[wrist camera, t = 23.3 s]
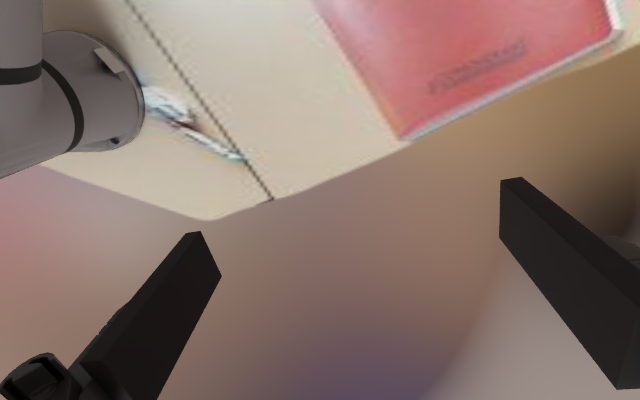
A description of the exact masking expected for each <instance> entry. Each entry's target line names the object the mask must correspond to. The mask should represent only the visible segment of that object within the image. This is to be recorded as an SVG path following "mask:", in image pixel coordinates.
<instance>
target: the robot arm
mask: <svg viewBox="0 0 640 400" xmlns="http://www.w3.org/2000/svg"><path fill="white" fill-rule="evenodd" d="M42 30H43V0H0V179H2V178H4V177H7V176H9V175H11V174H14V173H16V172H19V171H21V170H24V169H26V168H29V167H31V166H34V165H36V164H39V163H41V162H44V161H46V160H49V159H51V158H54V157H56V156H58V155H61V154H64V153H66V152H103V151H108V150H113V149H116V148H119V147H121V146H123V145H125V144H127V143H129V142H130V141H132V140H133V139H134V138H135V136H136V135H137V134H138V132H139V131H140V129H141V126H142V123H143V119H144V101H143V96H142V92H141V89H140V86H139V83H138V81H137V79H136V77H135V75H134V74H133V72H132V70H131V69H130V67H129V66H128V65H127V63H126V62H125V61H124V60H123V58H122V57H121V56H120V55H119V54H118V53H117V52H116V51H115V50H113V49H112V48H111V47H110V46H108V45H107V44H106V43H104V42H103V41H101V40H99V39H97V38H95V37H93V36H91V35H88V34H85V33H81V32H75V31H54V32H49V33H44V34H42ZM499 238H500V239H501V240H502V242H503V243H504V244H505V246H506V247H507V248H508V249H509V251H510V252H511V253H512V255H513V256H514V257H515V259H516V260H517V261H518V262H519V264H520V265H521V266H522V268H523V269H524V270H525V272H526V273H527V274H528V275H529V277H530V278H531V279H532V281H533V282H534V283H535V285H536V286H537V287H538V288H539V290H540V291H541V292H542V294H543V295H544V296H545V298H546V299H547V300H548V301H549V303H550V304H551V305H552V307H553V308H554V309H555V310H556V312H557V313H558V314H559V316H560V317H561V318H562V320H563V321H564V322H565V323H566V325H567V326H568V327H569V329H570V330H571V331H572V332H573V334H574V335H575V336H576V338H577V339H578V340H579V342H580V343H581V344H582V345H583V347H584V348H585V349H586V351H587V352H588V353H589V354H590V356H591V357H592V358H593V360H594V361H595V362H596V364H597V365H598V366H599V367H600V369H601V370H602V371H603V373H604V374H605V375H606V376H607V378H608V379H609V380H610V382H611V383H612V384H613V386H614V387H615V388H616V389H617V390H622V389H639V388H640V247H638V246H637V245H635V244H632V243H630V242H628V241H625V240H623V239H621V238H618V237H616V236H607V237H598V236H596V235H595V234H594V233H593V232H591V231H590V230H589V229H587V228H586V227H585V226H584V225H582V224H581V223H580V222H578V221H577V220H576V219H575V218H573V217H572V216H571V215H569V214H568V213H567V212H566V211H564V210H563V209H562V208H561V207H559V206H558V205H557V204H556V203H554V202H553V201H552V200H550V199H549V198H548V197H547V196H545V195H544V194H543V193H542V192H540V191H539V190H537V189H536V188H535V187H534V186H532V185H531V184H530V183H529V182H527V181H526V180H525V179H524V178H522V177H518V178H511V179H505V180H501V183H500V225H499ZM221 277H222V276H221V273H220V271H219V269H218V267H217V265H216V263H215V261H214V259H213V256H212V254H211V252H210V250H209V248H208V246H207V244H206V242H205V240H204V237H203V235H202V233H201V231H197V232H191V233H186V234H185V235H184V236H183V237H182V238H181V240H180V241H179V242H178V243H177V245H176V246H175V247H174V248H173V249H172V251H171V252H170V253H169V254H168V256H167V257H166V258H165V259H164V260H163V261H162V263H161V264H160V265H159V266H158V268H157V269H156V270H155V271H154V272H153V273H152V275H151V276H150V277H149V278H148V279H147V281H146V282H145V283H144V284H143V285H142V287H141V288H140V289H139V290H138V291H137V293H136V294H135V295H134V296H133V298H132V299H131V300H130V301H129V302H128V303H126V304H125V305H124V306H123V307H122V308H121V309H119V310H118V311H117V312H116V313H115V314H114V315H113V316H112V318H111V319H110V320H109V321H108V322H107V325H105V326H104V327H103V328H102V329H101V331H100V332H99V335H96V337H95V338H94V339H93V340H92V341H91V343H90V344H89V345H88V346H87V347H86V348H85V350H84V351H83V352H82V353H81V354H80V355H79V357H78V358H77V359H76V360H75V361H74V363H73V364H72V365H71V366H70V367H69V368H68V370H67V369H66V368H65V367H64V366H63V365H62V363H61V362H60V361H59V360H58V359H57V358H56V357H55V356H54V354H52V353H43V354H39V355H37V356H35V357H33V358H30V359H29V360H27V361H26V362H24V363H22V364H21V365H19V366H18V367H17V368H16V369H14V370H13V371H12V372H11V373H10V374H8V376H7V377H6V378H5V379H4V380H3V381H2V382H1V384H0V394H2V395H3V396H4V397H5V398H6V399H7V400H157V398H158V396H159V394H160V393H161V391H162V389H163V387H164V385H165V383H166V381H167V379H168V377H169V375H170V374H171V372H172V370H173V368H174V366H175V364H176V362H177V360H178V358H179V357H180V355H181V353H182V351H183V349H184V347H185V345H186V343H187V341H188V339H189V338H190V335H191V334H192V332H193V330H194V328H195V326H196V324H197V322H198V321H199V319H200V317H201V315H202V313H203V311H204V309H205V307H206V305H207V303H208V301H209V300H210V298H211V296H212V294H213V292H214V290H215V288H216V286H217V284H218V282H219V281H220V279H221Z"/></svg>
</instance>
